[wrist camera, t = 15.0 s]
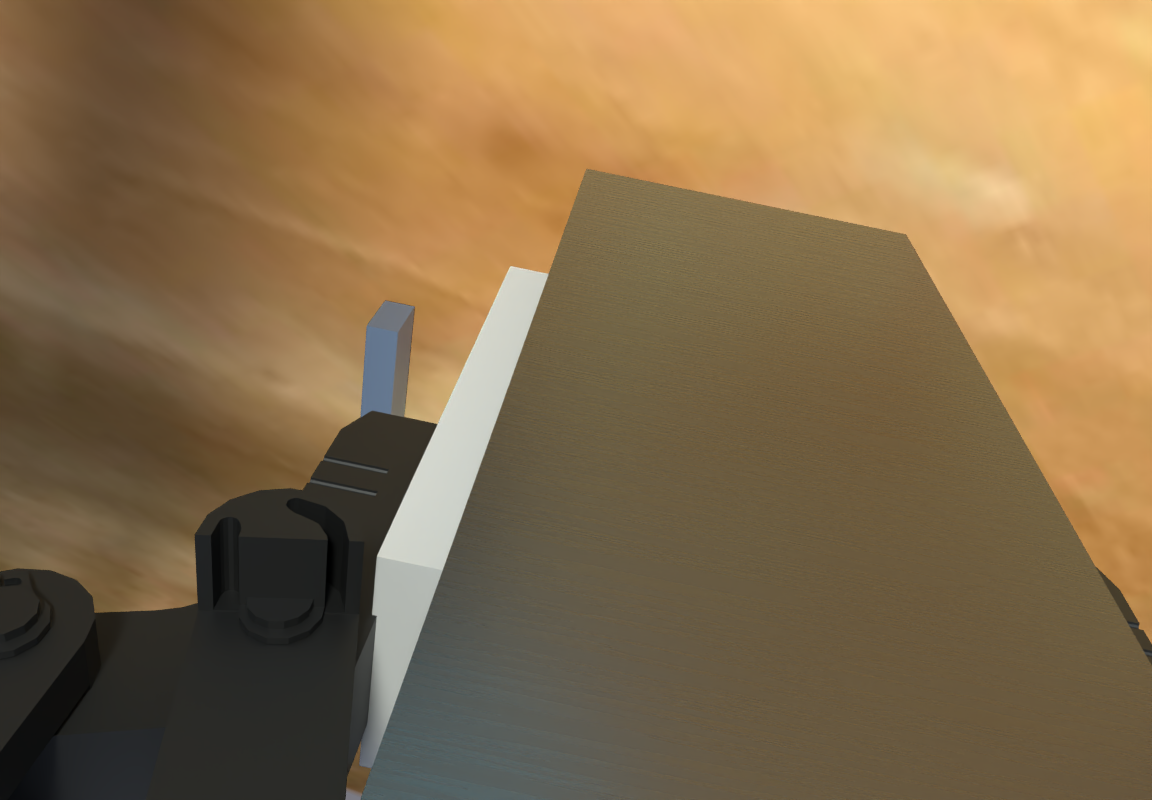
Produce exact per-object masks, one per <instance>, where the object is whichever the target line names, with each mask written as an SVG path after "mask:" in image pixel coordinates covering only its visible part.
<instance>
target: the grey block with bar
mask: <svg viewBox="0 0 1152 800" xmlns="http://www.w3.org/2000/svg"><path fill="white" fill-rule="evenodd" d="M361 800H1152V665H1151V663H1150V662H1149V660H1148V658H1147V656H1146V655H1145V653H1144V651H1143V649H1142V648H1141V646H1140V644H1139V642H1138V641H1137V639H1136V637H1135V635H1134V634H1133V632H1132V630H1131V628H1130V627H1129V625H1128V623H1127V621H1126V619H1125V618H1124V616H1123V614H1122V612H1121V611H1120V609H1119V607H1118V605H1117V604H1116V602H1115V600H1114V598H1113V597H1112V595H1111V593H1110V591H1109V590H1108V588H1107V586H1106V584H1105V583H1104V581H1103V579H1102V577H1101V576H1100V574H1099V572H1098V570H1097V569H1096V567H1095V565H1094V563H1093V562H1092V560H1091V558H1090V556H1089V555H1088V553H1087V551H1086V549H1085V548H1084V546H1083V544H1082V542H1081V541H1080V539H1079V537H1078V535H1077V533H1076V532H1075V530H1074V528H1073V526H1072V525H1071V523H1070V521H1069V519H1068V518H1067V516H1066V514H1065V512H1064V511H1063V509H1062V507H1061V505H1060V504H1059V502H1058V500H1057V498H1056V497H1055V495H1054V493H1053V491H1052V490H1051V488H1050V486H1049V484H1048V483H1047V481H1046V479H1045V477H1044V476H1043V474H1042V472H1041V470H1040V469H1039V467H1038V465H1037V463H1036V462H1035V460H1034V458H1033V456H1032V455H1031V453H1030V451H1029V449H1028V448H1027V446H1026V444H1025V442H1024V440H1023V439H1022V437H1021V435H1020V433H1019V432H1018V430H1017V428H1016V426H1015V425H1014V423H1013V421H1012V419H1011V418H1010V416H1009V414H1008V412H1007V411H1006V409H1005V407H1004V405H1003V404H1002V402H1001V400H1000V398H999V397H998V395H997V393H996V391H995V390H994V388H993V386H992V384H991V383H990V381H989V379H988V377H987V376H986V374H985V372H984V370H983V369H982V367H981V365H980V363H979V362H978V360H977V358H976V356H975V355H974V353H973V351H972V349H971V347H970V346H969V344H968V342H967V340H966V339H965V337H964V335H963V333H962V332H961V330H960V328H959V326H958V325H957V323H956V321H955V319H954V318H953V316H952V314H951V312H950V311H949V309H948V307H947V305H946V304H945V302H944V300H943V298H942V297H941V295H940V293H939V291H938V290H937V288H936V286H935V284H934V283H933V281H932V279H931V277H930V276H929V274H928V272H927V270H926V269H925V267H924V265H923V263H922V261H921V260H920V258H919V256H918V254H917V253H916V251H915V249H914V247H913V246H912V244H911V242H910V240H909V239H908V237H907V235H906V234H901V233H896V232H891V231H886V230H882V229H877V228H872V227H867V226H862V225H857V224H852V223H848V222H843V221H838V220H833V219H828V218H823V217H818V216H814V215H809V214H804V213H799V212H794V211H789V210H784V209H780V208H775V207H770V206H765V205H760V204H755V203H750V202H746V201H741V200H736V199H731V198H726V197H721V196H716V195H712V194H707V193H702V192H697V191H692V190H687V189H682V188H678V187H673V186H668V185H663V184H658V183H653V182H648V181H644V180H639V179H634V178H629V177H624V176H619V175H614V174H609V173H605V172H600V171H595V170H590V169H586V171H585V174H584V177H583V180H582V183H581V185H580V188H579V191H578V194H577V196H576V199H575V202H574V205H573V208H572V210H571V213H570V216H569V219H568V222H567V224H566V227H565V230H564V233H563V236H562V238H561V241H560V244H559V247H558V250H557V252H556V255H555V258H554V261H553V263H552V266H551V269H550V272H549V275H548V277H547V280H546V283H545V286H544V289H543V291H542V294H541V297H540V300H539V303H538V305H537V308H536V311H535V314H534V317H533V319H532V322H531V325H530V328H529V331H528V333H527V336H526V339H525V342H524V344H523V347H522V350H521V353H520V356H519V358H518V361H517V364H516V367H515V370H514V372H513V375H512V378H511V381H510V384H509V386H508V389H507V392H506V395H505V398H504V400H503V403H502V406H501V409H500V411H499V414H498V417H497V420H496V423H495V425H494V428H493V431H492V434H491V437H490V439H489V442H488V445H487V448H486V451H485V453H484V456H483V459H482V462H481V465H480V467H479V470H478V473H477V476H476V479H475V481H474V484H473V487H472V490H471V492H470V495H469V498H468V501H467V504H466V506H465V509H464V512H463V515H462V518H461V520H460V523H459V526H458V529H457V532H456V534H455V537H454V540H453V543H452V546H451V548H450V551H449V554H448V557H447V559H446V562H445V565H444V568H443V571H442V573H441V576H440V579H439V582H438V585H437V587H436V590H435V593H434V596H433V599H432V601H431V604H430V607H429V610H428V613H427V615H426V618H425V621H424V624H423V626H422V629H421V632H420V635H419V638H418V640H417V643H416V646H415V649H414V652H413V654H412V657H411V660H410V663H409V666H408V668H407V671H406V674H405V677H404V680H403V682H402V685H401V688H400V691H399V694H398V696H397V699H396V702H395V705H394V707H393V710H392V713H391V716H390V719H389V721H388V724H387V727H386V730H385V733H384V735H383V738H382V741H381V744H380V747H379V749H378V752H377V755H376V758H375V761H374V763H373V766H372V769H371V772H370V774H369V777H368V780H367V783H366V786H365V788H364V791H363V794H362V797H361Z"/></svg>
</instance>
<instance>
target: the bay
mask: <svg viewBox="0 0 1152 800" xmlns="http://www.w3.org/2000/svg"><path fill="white" fill-rule="evenodd" d="M414 309H415V307H414V306H409V305H405V304H400V303H395V302H390V301H386V300H385V302H384V303H383V304H382V306H381V307H380V308H379V310H378V311H377V312H376V314H375V315H374V317H373V318H372V319H371V321H370V322H369V323H368V325H367V331H366V345H365V360H364V375H363V390H362V404H361V417H362V416H364V415H365V414H367V413H369V412H370V411H377V412H382V413H387V414H391V415H396V416H401V417H404V413H405V403H406V392H407V382H408V371H409V361H410V351H411V340H412V330H413V319H414Z"/></svg>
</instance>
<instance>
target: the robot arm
mask: <svg viewBox="0 0 1152 800" xmlns="http://www.w3.org/2000/svg"><path fill="white" fill-rule="evenodd" d="M548 275H549V274H546V273H541V272H536V271H532V270H527V269H522V268H517V267H512V266H510V268H509V270H508V272H507V275H506V277H505V279H504V281H503V283H502V285H501V288H500V290H499V292H498V294H497V296H496V299H495V301H494V303H493V305H492V307H491V309H490V312H489V314H488V316H487V318H486V320H485V322H484V325H483V327H482V329H481V331H480V333H479V335H478V338H477V340H476V342H475V344H474V346H473V348H472V351H471V353H470V355H469V357H468V359H467V362H466V364H465V366H464V368H463V370H462V372H461V375H460V377H459V379H458V381H457V383H456V385H455V388H454V390H453V392H452V394H451V396H450V398H449V401H448V403H447V405H446V407H445V409H444V412H443V414H442V416H441V418H440V420H439V422H438V424H434V423H430V422H425V421H420V420H415V419H410V418H406V417H401V416H396V415H391V414H387V413H382V412H377V411H370V412H369V413H367V414H365V415H364V416H362V417H361V418H359V419H357V420H356V421H354V422H352V423H351V424H349V425H347V426H346V427H344V428H343V429H341V430H340V432H339V433H338V435H337V437H336V438H335V440H334V441H333V443H332V445H331V446H330V448H329V449H328V451H327V453H326V454H325V456H324V460H323V461H321V462H320V464H319V465H318V467H317V468H316V470H315V472H314V473H313V475H312V476H311V480H310V483H307V484H306V486H305V488H304V489H303V491H302V490H297V489H291V488H290V489H275V490H259V491H256V492H253V493H250V494H247V495H243V496H240V497H237V498H234V499H231V500H229V501H227V502H226V503H224V504H223V505H221V506H220V507H218V508H217V509H216V510H214V511H213V512H211V513H210V514H208V515H207V516H206V518H205V520H204V521H203V523H202V524H201V526H200V527H199V529H198V530H197V532H196V533H195V552H196V573H197V595H198V603H197V604H193V605H189V606H186V607H182V608H174V609H165V610H156V611H130V612H105V613H95V612H94V605H93V598H92V596H91V595H90V594H89V593H88V592H87V591H86V589H85V588H84V587H83V586H82V585H81V584H80V583H79V582H78V581H77V580H75V579H72V578H69V577H67V576H64V575H61V574H59V573H56V572H54V571H51V570H34V569H13V570H7V571H1V572H0V800H345V797H346V784H347V776H348V773H349V771H350V768H351V765H352V763H353V760H354V757H355V755H356V752H357V750H358V747H359V744H360V742H361V752H360V764H359V766H363V767H368V768H372V766H373V763H374V761H375V758H376V755H377V752H378V749H379V747H380V744H381V741H382V738H383V735H384V733H385V730H386V727H387V724H388V721H389V719H390V716H391V713H392V710H393V707H394V705H395V702H396V699H397V696H398V694H399V691H400V688H401V685H402V682H403V680H404V677H405V674H406V671H407V668H408V666H409V663H410V660H411V657H412V654H413V652H414V649H415V646H416V643H417V640H418V638H419V635H420V632H421V629H422V626H423V624H424V621H425V618H426V615H427V613H428V610H429V607H430V604H431V601H432V599H433V596H434V593H435V590H436V587H437V585H438V582H439V579H440V576H441V573H442V571H443V568H444V565H445V562H446V559H447V557H448V554H449V551H450V548H451V546H452V543H453V540H454V537H455V534H456V532H457V529H458V526H459V523H460V520H461V518H462V515H463V512H464V509H465V506H466V504H467V501H468V498H469V495H470V492H471V490H472V487H473V484H474V481H475V479H476V476H477V473H478V470H479V467H480V465H481V462H482V459H483V456H484V453H485V451H486V448H487V445H488V442H489V439H490V437H491V434H492V431H493V428H494V425H495V423H496V420H497V417H498V414H499V411H500V409H501V406H502V403H503V400H504V398H505V395H506V392H507V389H508V386H509V384H510V381H511V378H512V375H513V372H514V370H515V367H516V364H517V361H518V358H519V356H520V353H521V350H522V347H523V344H524V342H525V339H526V336H527V333H528V331H529V328H530V325H531V322H532V319H533V317H534V314H535V311H536V308H537V305H538V303H539V300H540V297H541V294H542V291H543V289H544V286H545V283H546V280H547V277H548ZM1096 569H1097V570H1098V572H1099V574H1100V576H1101V577H1102V579H1103V581H1104V583H1105V584H1106V586H1107V588H1108V590H1109V591H1110V593H1111V595H1112V597H1113V598H1114V600H1115V602H1116V604H1117V605H1118V607H1119V609H1120V611H1121V612H1122V614H1123V616H1124V618H1125V619H1126V621H1127V623H1128V625H1129V627H1130V628H1131V630H1132V632H1133V634H1134V635H1135V637H1136V639H1137V641H1138V642H1139V644H1140V646H1141V648H1142V649H1143V651H1144V653H1145V655H1146V656H1147V658H1148V660H1149V662H1150V663H1151V665H1152V644H1151V642H1150V641H1149V639H1148V637H1147V636H1146V634H1145V632H1144V630H1140V629H1139V628H1138V627H1139V622H1138V620H1137V619H1136V617H1135V615H1134V613H1133V612H1132V610H1131V608H1130V607H1129V605H1128V603H1127V601H1126V600H1125V598H1124V596H1123V595H1122V593H1121V591H1120V590H1119V589H1118V588H1117V587H1116V586H1115V585H1114V584H1113V583H1112V582H1111V581H1110V580H1109V579H1108V578H1107V577H1106V576H1105V575H1104V574H1103V573H1102V572H1101V571H1100V570H1099V569H1098V568H1096ZM361 739H362V740H361Z"/></svg>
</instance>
